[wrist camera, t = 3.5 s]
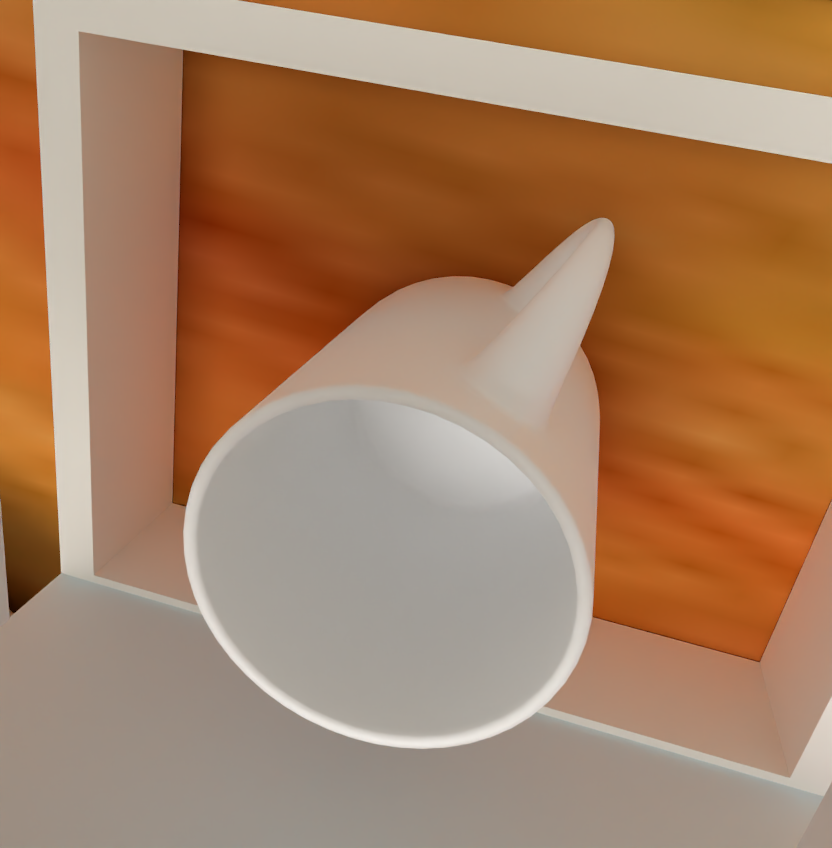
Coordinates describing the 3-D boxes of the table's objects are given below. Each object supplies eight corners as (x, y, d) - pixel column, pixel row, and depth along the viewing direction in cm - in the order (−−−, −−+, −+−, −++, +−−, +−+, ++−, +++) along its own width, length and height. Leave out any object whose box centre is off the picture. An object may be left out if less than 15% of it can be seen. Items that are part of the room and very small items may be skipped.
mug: (737, 282, 22) (836, 427, 12) (500, 559, 27) (438, 811, 18) (488, 110, 22) (389, 117, 12) (298, 423, 27) (123, 602, 17)
